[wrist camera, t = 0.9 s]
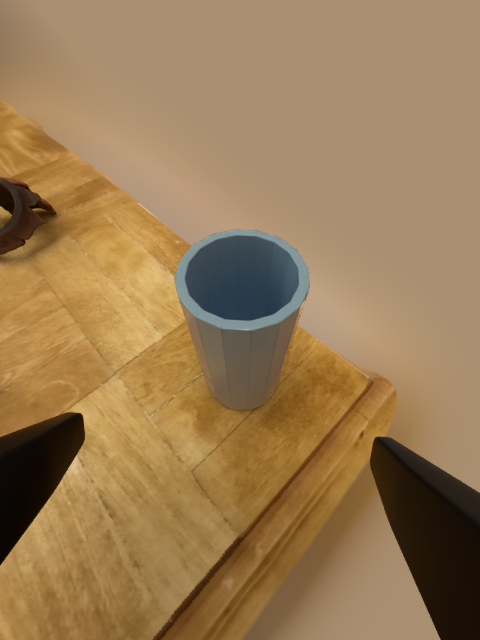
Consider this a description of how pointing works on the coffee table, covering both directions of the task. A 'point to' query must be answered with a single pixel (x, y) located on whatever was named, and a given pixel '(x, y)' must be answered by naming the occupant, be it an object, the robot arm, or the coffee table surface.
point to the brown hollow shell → (19, 213)
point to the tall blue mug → (242, 311)
